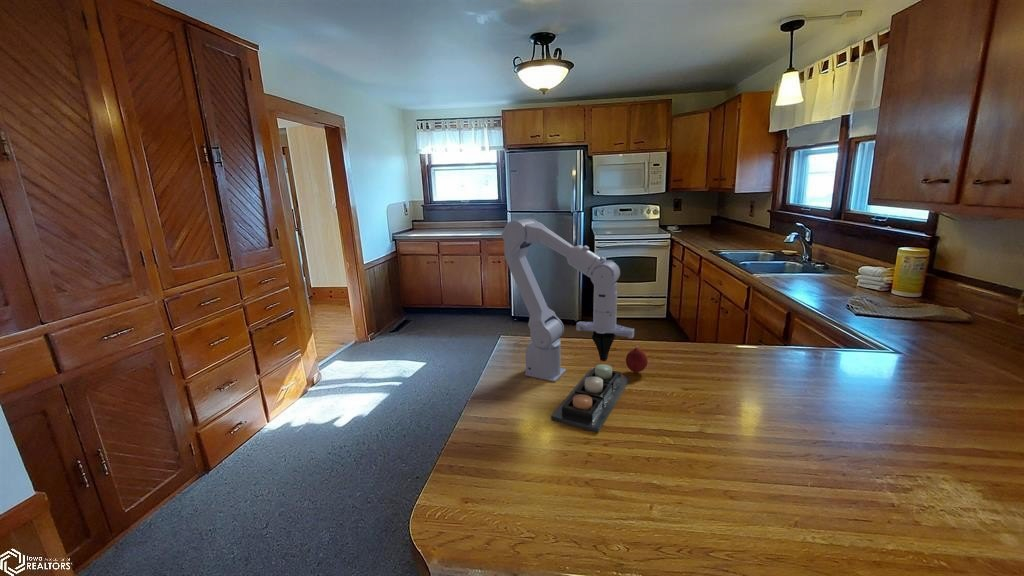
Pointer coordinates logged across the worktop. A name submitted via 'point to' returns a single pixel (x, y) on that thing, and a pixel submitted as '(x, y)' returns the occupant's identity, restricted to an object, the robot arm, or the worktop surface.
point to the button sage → (603, 371)
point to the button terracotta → (582, 402)
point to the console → (600, 403)
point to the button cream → (594, 385)
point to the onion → (636, 360)
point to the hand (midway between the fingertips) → (603, 359)
